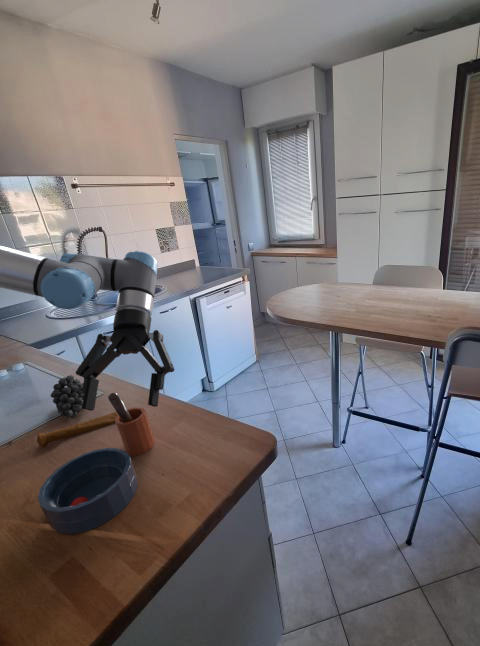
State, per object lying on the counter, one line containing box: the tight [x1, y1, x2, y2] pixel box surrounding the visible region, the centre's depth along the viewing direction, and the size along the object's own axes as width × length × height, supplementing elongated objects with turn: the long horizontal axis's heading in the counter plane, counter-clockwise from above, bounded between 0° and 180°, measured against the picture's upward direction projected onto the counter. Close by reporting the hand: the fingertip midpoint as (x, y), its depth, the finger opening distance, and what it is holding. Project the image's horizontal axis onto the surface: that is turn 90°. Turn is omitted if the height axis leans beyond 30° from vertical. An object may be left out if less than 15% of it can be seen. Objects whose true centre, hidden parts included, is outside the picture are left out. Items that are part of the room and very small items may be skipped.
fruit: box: [50, 374, 85, 419], centre depth 90 cm, size 9×8×15 cm
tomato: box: [70, 497, 89, 506], centre depth 59 cm, size 3×3×3 cm
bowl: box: [37, 447, 139, 535], centre depth 62 cm, size 15×15×6 cm
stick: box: [107, 392, 133, 422], centre depth 71 cm, size 2×2×17 cm
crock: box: [114, 406, 155, 456], centre depth 74 cm, size 6×6×9 cm
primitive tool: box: [36, 411, 118, 449], centre depth 82 cm, size 19×6×4 cm, turn 127°
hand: (120, 407), depth 69 cm, fingers open, 13 cm apart
